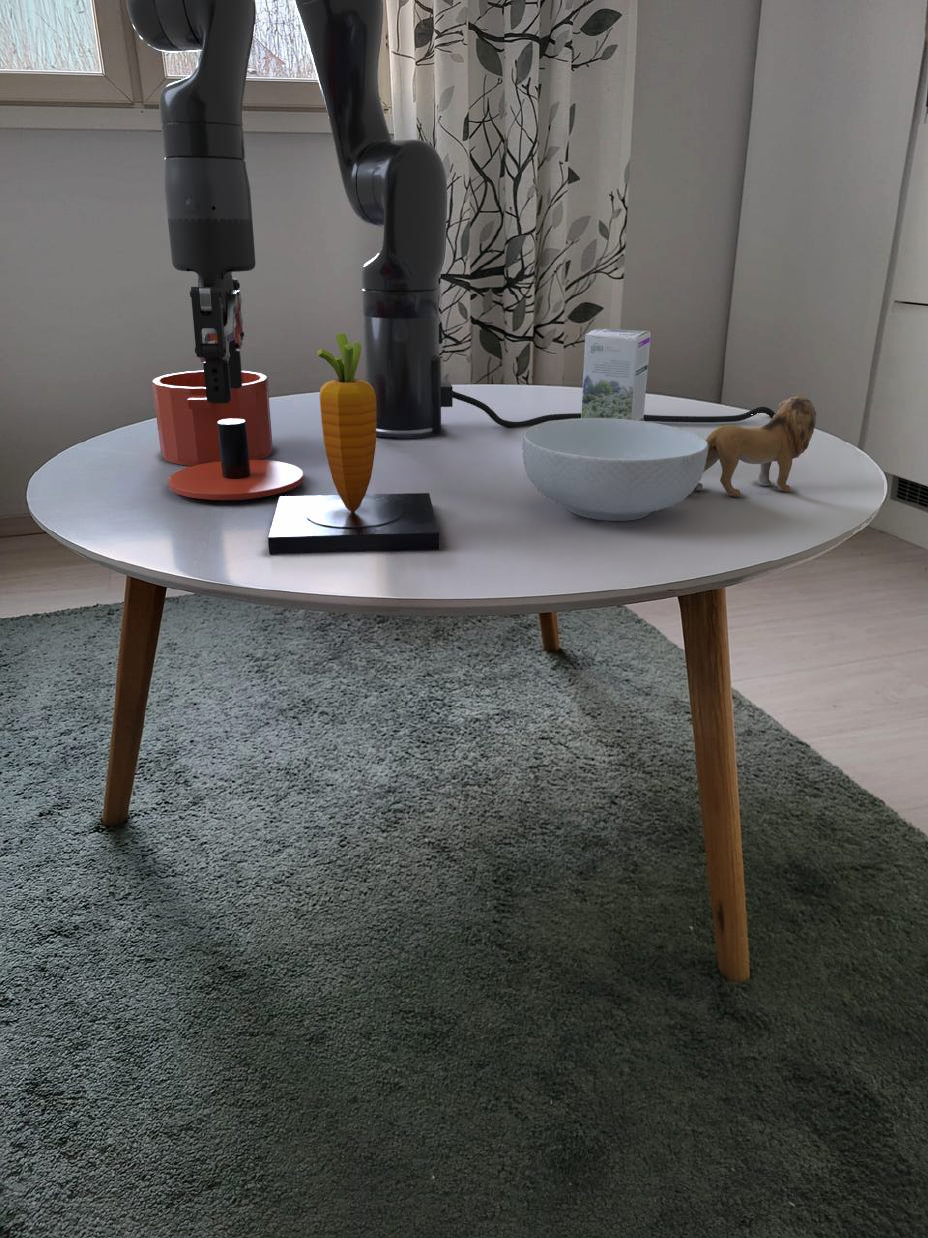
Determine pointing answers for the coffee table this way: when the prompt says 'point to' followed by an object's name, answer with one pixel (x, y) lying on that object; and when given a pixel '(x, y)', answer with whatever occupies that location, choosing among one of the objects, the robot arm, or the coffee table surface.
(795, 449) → the lion figurine
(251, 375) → the pot
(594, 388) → the syrup box
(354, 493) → the carrot
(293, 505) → the hob plate
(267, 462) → the pot lid
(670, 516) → the coffee table surface
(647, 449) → the cereal bowl
